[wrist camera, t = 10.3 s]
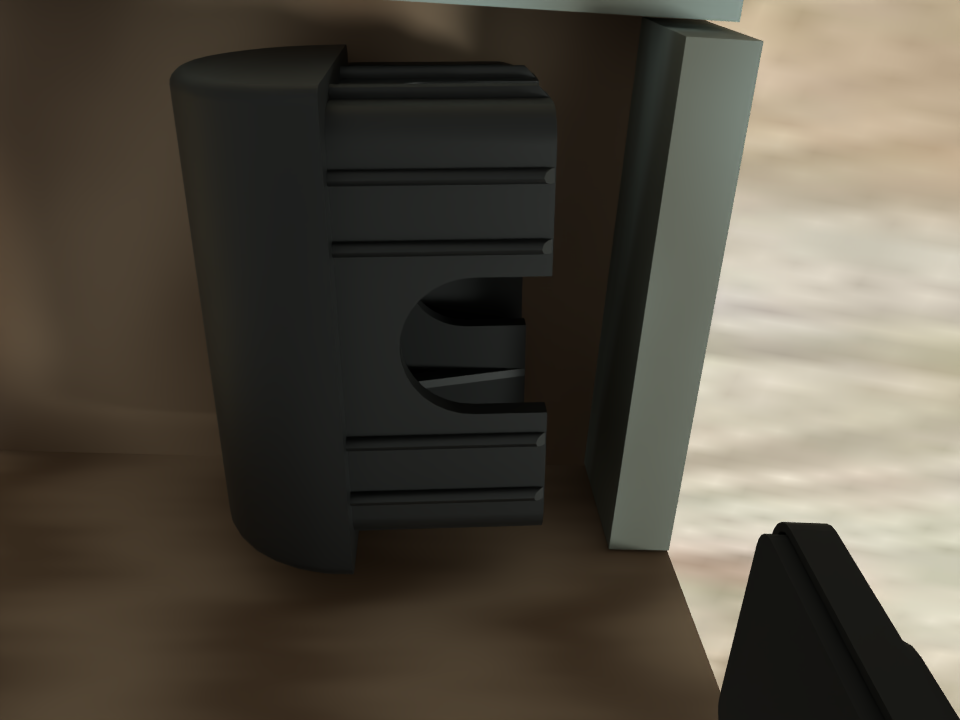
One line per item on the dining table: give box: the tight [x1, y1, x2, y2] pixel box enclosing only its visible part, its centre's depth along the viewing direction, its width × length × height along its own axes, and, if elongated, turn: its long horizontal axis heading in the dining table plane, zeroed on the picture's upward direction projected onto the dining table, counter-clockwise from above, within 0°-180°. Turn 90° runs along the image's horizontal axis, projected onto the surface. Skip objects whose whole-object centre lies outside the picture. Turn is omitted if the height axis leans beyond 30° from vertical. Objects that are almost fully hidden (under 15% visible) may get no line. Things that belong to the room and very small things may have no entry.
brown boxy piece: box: [0, 0, 763, 720], centre depth 18 cm, size 18×15×13 cm
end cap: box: [169, 44, 557, 574], centre depth 20 cm, size 10×7×7 cm
